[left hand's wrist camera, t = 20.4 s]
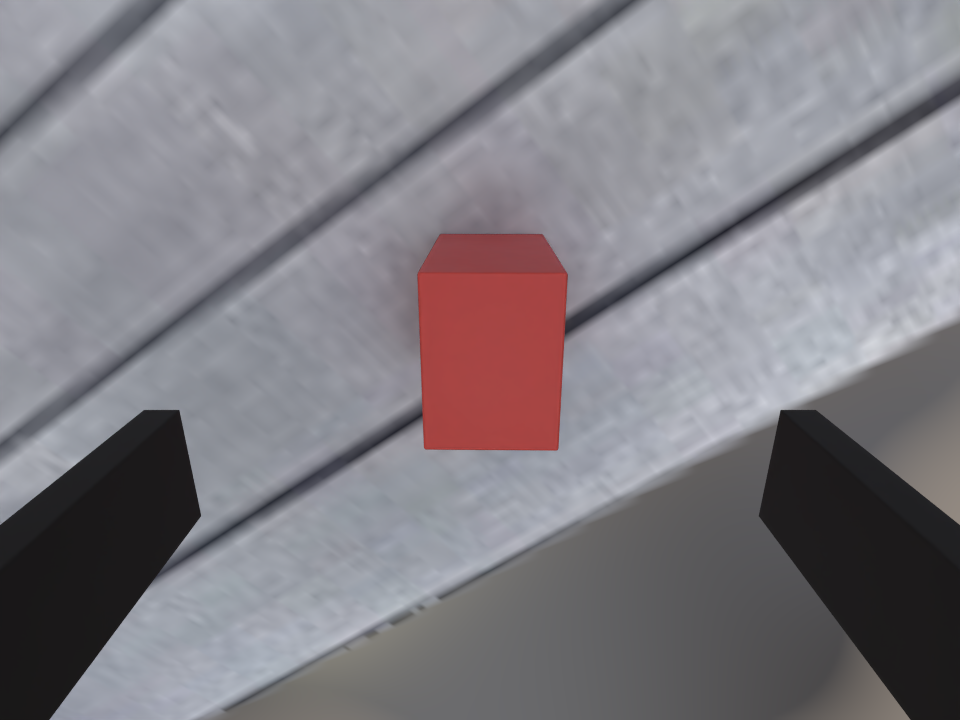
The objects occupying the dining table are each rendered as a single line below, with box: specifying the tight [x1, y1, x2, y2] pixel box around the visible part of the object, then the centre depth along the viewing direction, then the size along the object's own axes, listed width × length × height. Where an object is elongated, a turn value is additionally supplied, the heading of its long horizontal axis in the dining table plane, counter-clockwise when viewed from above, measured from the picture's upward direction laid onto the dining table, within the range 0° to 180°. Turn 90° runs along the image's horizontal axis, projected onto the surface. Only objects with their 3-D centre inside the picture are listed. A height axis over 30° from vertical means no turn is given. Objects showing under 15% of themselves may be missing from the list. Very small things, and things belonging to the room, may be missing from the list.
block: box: [417, 234, 568, 450], centre depth 23 cm, size 5×6×9 cm
